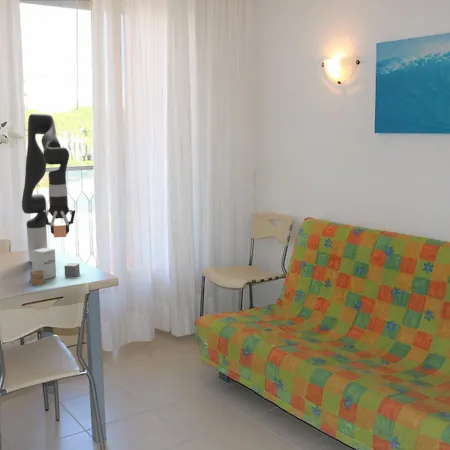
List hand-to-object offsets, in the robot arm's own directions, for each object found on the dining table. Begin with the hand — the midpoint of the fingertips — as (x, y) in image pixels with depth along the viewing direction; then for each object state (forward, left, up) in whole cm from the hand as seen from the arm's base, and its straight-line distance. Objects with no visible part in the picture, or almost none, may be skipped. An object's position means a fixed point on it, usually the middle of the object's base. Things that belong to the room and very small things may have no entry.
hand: (60, 233), depth 261 cm
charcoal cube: (-9, +4, -21) cm, 23 cm away
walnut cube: (+2, -10, -21) cm, 24 cm away
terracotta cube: (0, 0, -1) cm, 1 cm away
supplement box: (-8, -8, -21) cm, 24 cm away
